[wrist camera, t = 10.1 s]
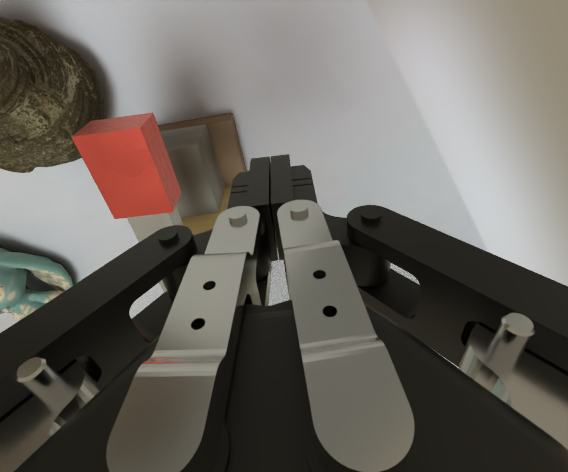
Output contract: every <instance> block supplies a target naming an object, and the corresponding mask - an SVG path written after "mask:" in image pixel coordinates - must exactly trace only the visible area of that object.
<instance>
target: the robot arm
mask: <svg viewBox="0 0 568 472" xmlns="http://www.w3.org/2000/svg"><path fill="white" fill-rule="evenodd" d="M231 187H232V188H231V191H230V197H229V202H228V207H227V210H225V211H224V212H222V213H221V214H220V215H219V216H218V217H217V219H216V222H215V225H214V228H213V229H211V230H208V231H206V232H203V233H199V234H196V235H193V234H192V231H191V230H190V229H189V228H188V227H186V226H183V225H173V226H168V227H165V228H162V229H160V230H158V231H156V232H154V233H153V234H151V235H150V236H148V237H147V238H145V239H144V240H142V241H141V242H139V243H138V244H136V245H135V246H133V247H132V248H130V249H128V250H127V251H125V252H124V253H122V254H121V255H119V256H118V257H116V258H115V259H113V260H112V261H110V262H109V263H107V264H106V265H104V266H102V267H101V268H99V269H98V270H96V271H95V272H93V273H92V274H90V275H89V276H87V277H86V278H84V279H83V280H81V281H80V282H78V283H76V284H75V285H73V286H72V287H70V288H69V289H67V290H66V291H64V292H63V293H61V294H60V295H58V296H57V297H55V298H54V299H52V300H50V301H49V302H47V303H46V304H44V305H43V306H41V307H40V308H38V309H37V310H35V311H34V312H32V313H31V314H29V315H28V316H26V317H24V318H23V319H21V320H20V321H18V322H17V323H15V324H14V325H12V326H11V327H9V328H8V329H6V330H5V331H3V332H2V333H0V472H568V286H565V285H563V284H560V283H558V282H556V281H554V280H551V279H549V278H547V277H544V276H542V275H540V274H537V273H535V272H533V271H530V270H528V269H526V268H524V267H521V266H519V265H517V264H514V263H512V262H510V261H507V260H505V259H503V258H500V257H498V256H496V255H493V254H491V253H489V252H486V251H484V250H482V249H479V248H477V247H475V246H473V245H470V244H468V243H466V242H463V241H461V240H459V239H456V238H454V237H452V236H449V235H447V234H445V233H442V232H440V231H438V230H435V229H433V228H431V227H428V226H426V225H424V224H421V223H419V222H417V221H414V220H412V219H410V218H408V217H405V216H403V215H401V214H398V213H396V212H394V211H391V210H389V209H387V208H384V207H381V206H376V205H364V206H359V207H357V208H354V209H353V210H351V211H350V212H349V213H348V215H347V218H341V217H334V216H330V215H327V214H325V213H324V212H322V210H321V207H320V206H319V205H318V204H317V199H316V194H315V190H314V185H313V180H312V176H311V171H310V170H309V169H308V168H307V167H305V166H304V165H301V166H292V167H290V158H289V154H288V155H279V156H271V162H270V157H262V158H253V159H251V163H250V171H248V172H239V173H238V174H237V175H236V176H235V178H234V179H233V181H232V186H231ZM277 246H278V253H279V259H280V260H284V265H285V272H286V279H287V285H288V292H289V298H290V300H288V301H285V302H282V303H279V304H275V305H272V306H268V303H269V293H270V283H271V275H270V269H271V261H275V260H278V253H277ZM390 263H393V264H394V265H396V266H398V267H400V268H402V269H404V270H405V271H407V272H409V273H411V274H412V275H413V276H415V277H416V278H417V280H418V281H419V283H420V285H419V284H417V283H415V282H413V281H412V280H410V279H408V278H406V277H404V276H403V275H401V274H399V273H397V272H396V271H394V270H392V269H390ZM161 280H162V281H163V284H164V286H165V288H166V290H167V291H166V292H165V293H163V294H162V295H161V296H160V297H158V298H157V299H156V300H155V301H153V302H152V303H151V304H150V305H149V306H147V307H146V308H145V309H144V310H142V311H141V312H140V313H139V314H137V315H136V316H135V317H134V318H132V319H131V318H130V316H129V310H130V307H131V305H132V304H133V302H134V301H135V300H136V299H138V298H139V297H140V296H142V295H143V294H144V293H146V292H147V291H148V290H149V289H151V288H152V287H153V286H155V285H156V284H157V283H158V282H160V281H161ZM363 302H365V303H366V304H367V305H369V306H370V307H372V308H373V309H375V310H376V311H375V310H373V309H371V308H368V307H365V305H364V303H363ZM428 346H429V347H428ZM431 348H432V349H433V350H432V349H431ZM434 350H435V351H436V352H435V351H434ZM437 352H438V353H439V354H440V355H439V354H438V353H437ZM441 355H442V356H443V357H445V358H446V359H448V360H449V361H451V362H452V363H454V364H455V365H456V366H458V367H459V368H460V369H459V368H457V367H456V366H454V365H453V364H452V363H450V362H449V361H448V360H446V359H445V358H443V357H442V356H441Z"/></svg>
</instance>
